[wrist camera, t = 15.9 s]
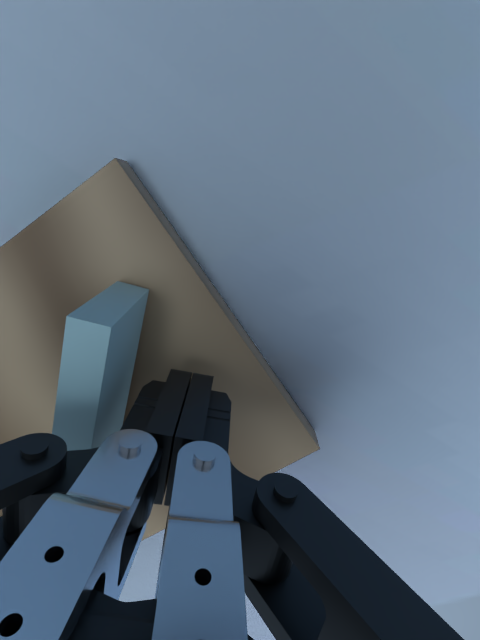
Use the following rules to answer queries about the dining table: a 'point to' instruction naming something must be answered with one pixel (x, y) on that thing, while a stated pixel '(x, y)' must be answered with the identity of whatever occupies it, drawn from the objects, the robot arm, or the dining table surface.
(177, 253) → the socket board
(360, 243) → the dining table surface
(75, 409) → the bar
